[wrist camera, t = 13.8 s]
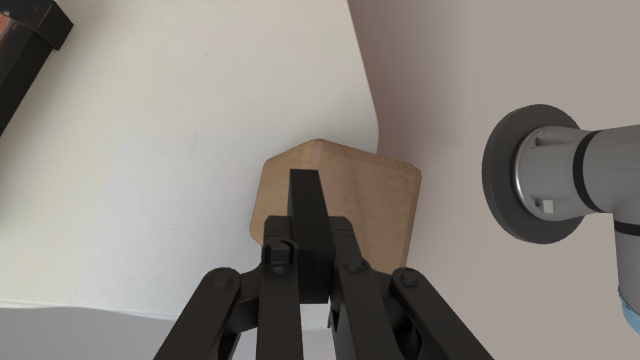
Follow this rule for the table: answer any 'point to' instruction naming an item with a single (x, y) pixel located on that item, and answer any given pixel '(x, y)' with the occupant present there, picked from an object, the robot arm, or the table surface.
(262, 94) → the table surface
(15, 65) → the book
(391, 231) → the wooden block
